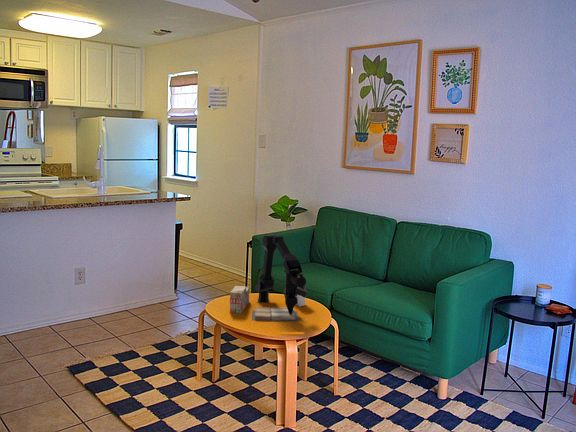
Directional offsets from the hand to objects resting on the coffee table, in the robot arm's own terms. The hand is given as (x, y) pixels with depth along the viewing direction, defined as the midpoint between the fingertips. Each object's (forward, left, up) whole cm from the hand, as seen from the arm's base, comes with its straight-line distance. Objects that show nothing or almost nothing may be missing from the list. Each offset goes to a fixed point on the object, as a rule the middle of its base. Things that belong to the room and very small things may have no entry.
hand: (290, 311), depth 285 cm
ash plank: (0, -4, -2) cm, 4 cm away
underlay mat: (0, -8, -3) cm, 8 cm away
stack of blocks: (-14, -27, -4) cm, 30 cm away
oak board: (0, -14, -2) cm, 14 cm away
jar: (-23, +5, -4) cm, 24 cm away
